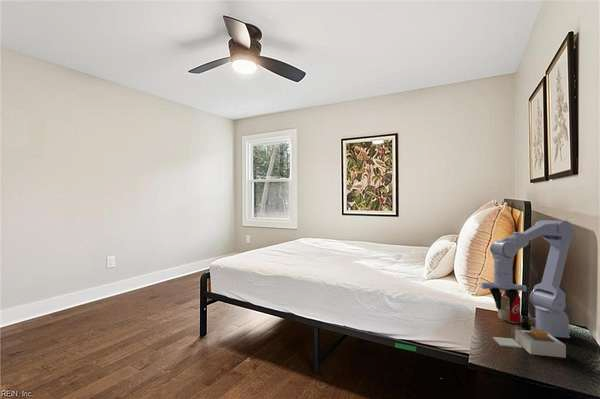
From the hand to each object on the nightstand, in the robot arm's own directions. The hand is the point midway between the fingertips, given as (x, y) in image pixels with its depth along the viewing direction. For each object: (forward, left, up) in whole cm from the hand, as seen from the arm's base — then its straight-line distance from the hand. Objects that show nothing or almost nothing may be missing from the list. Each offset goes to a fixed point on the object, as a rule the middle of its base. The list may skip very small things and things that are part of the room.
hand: (503, 308), depth 110 cm
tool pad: (+1, +6, -10) cm, 12 cm away
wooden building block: (0, 0, -3) cm, 4 cm away
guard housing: (-8, +8, -10) cm, 15 cm away
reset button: (-8, +8, -7) cm, 13 cm away
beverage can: (-11, -18, -11) cm, 24 cm away
